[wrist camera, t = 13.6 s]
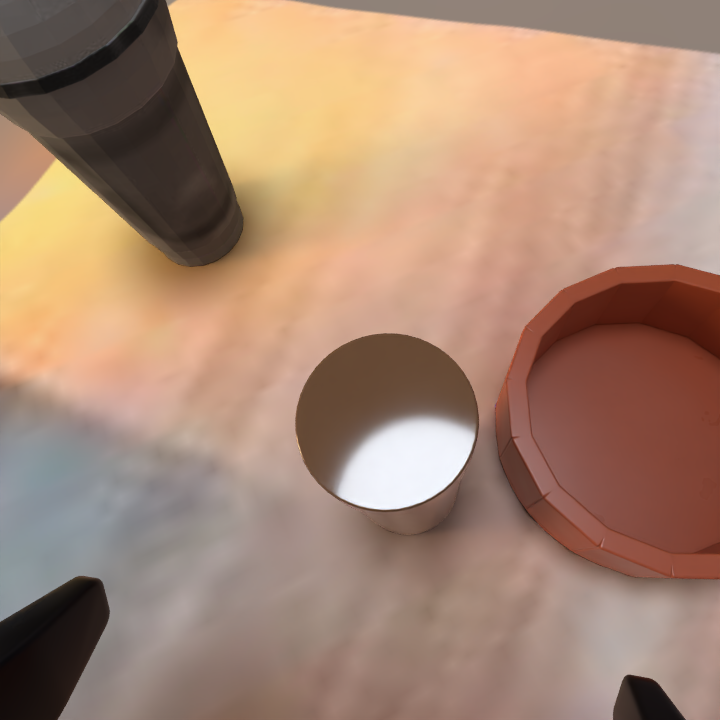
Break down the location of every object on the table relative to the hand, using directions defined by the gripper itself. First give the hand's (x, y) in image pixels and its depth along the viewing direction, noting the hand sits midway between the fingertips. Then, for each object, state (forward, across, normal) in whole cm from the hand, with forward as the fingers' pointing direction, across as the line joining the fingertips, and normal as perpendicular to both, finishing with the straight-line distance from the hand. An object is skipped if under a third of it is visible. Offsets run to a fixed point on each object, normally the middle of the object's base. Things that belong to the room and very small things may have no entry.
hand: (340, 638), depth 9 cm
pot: (+13, -8, +3) cm, 16 cm away
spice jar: (+11, 0, +5) cm, 12 cm away
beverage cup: (+20, +12, -3) cm, 23 cm away
